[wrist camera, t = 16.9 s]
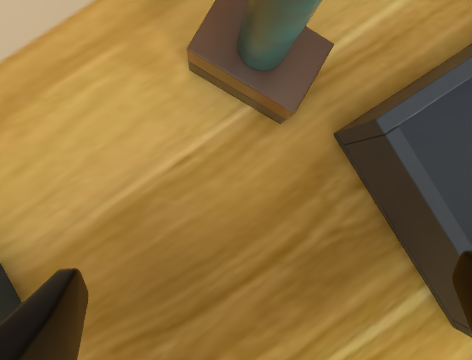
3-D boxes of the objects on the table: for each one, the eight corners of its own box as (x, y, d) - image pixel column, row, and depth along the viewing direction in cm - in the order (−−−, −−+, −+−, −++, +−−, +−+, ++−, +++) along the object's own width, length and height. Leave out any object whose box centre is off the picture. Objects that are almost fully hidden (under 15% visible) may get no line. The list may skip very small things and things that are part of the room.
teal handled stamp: (314, 64, 22) (453, -81, 10) (280, 124, 21) (379, 51, 9) (224, 9, 21) (254, -215, 9) (188, 69, 21) (172, -80, 9)
